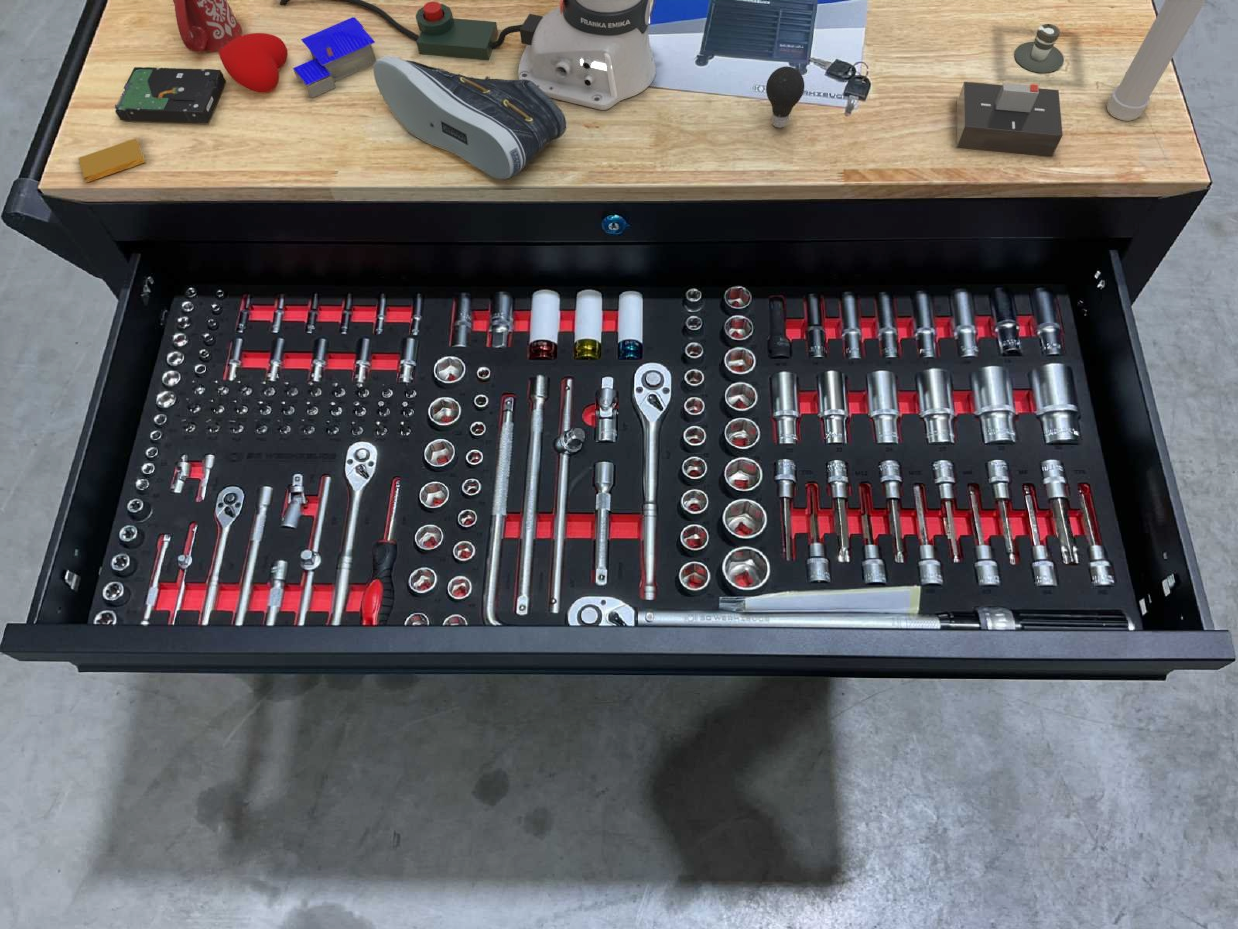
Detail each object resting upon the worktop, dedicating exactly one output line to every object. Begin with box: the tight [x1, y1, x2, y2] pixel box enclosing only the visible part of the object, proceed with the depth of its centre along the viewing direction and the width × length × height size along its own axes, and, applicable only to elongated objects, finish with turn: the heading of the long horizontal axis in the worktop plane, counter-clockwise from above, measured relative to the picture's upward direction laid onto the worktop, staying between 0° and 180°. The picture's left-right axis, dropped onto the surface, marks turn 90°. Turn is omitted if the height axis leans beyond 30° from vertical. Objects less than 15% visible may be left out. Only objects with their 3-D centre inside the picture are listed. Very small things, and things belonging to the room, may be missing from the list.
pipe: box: [1106, 0, 1207, 122], centre depth 126 cm, size 6×6×30 cm
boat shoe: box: [373, 55, 567, 180], centre depth 137 cm, size 11×30×14 cm
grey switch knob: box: [995, 82, 1039, 113], centre depth 132 cm, size 5×2×4 cm, turn 80°
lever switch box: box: [955, 81, 1063, 158], centre depth 136 cm, size 14×10×4 cm
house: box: [292, 16, 377, 99], centre depth 147 cm, size 11×14×6 cm
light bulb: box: [765, 65, 805, 129], centre depth 135 cm, size 6×6×10 cm
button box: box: [415, 3, 499, 61], centre depth 149 cm, size 13×8×4 cm, turn 80°
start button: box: [422, 0, 443, 21], centre depth 148 cm, size 3×3×2 cm
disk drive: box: [114, 66, 227, 125], centre depth 145 cm, size 10×3×15 cm
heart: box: [218, 32, 289, 94], centre depth 146 cm, size 12×5×10 cm
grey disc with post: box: [1014, 23, 1065, 74], centre depth 143 cm, size 12×12×5 cm
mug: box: [172, 0, 243, 53], centre depth 147 cm, size 13×9×14 cm
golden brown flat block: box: [77, 138, 146, 183], centre depth 139 cm, size 9×1×5 cm
